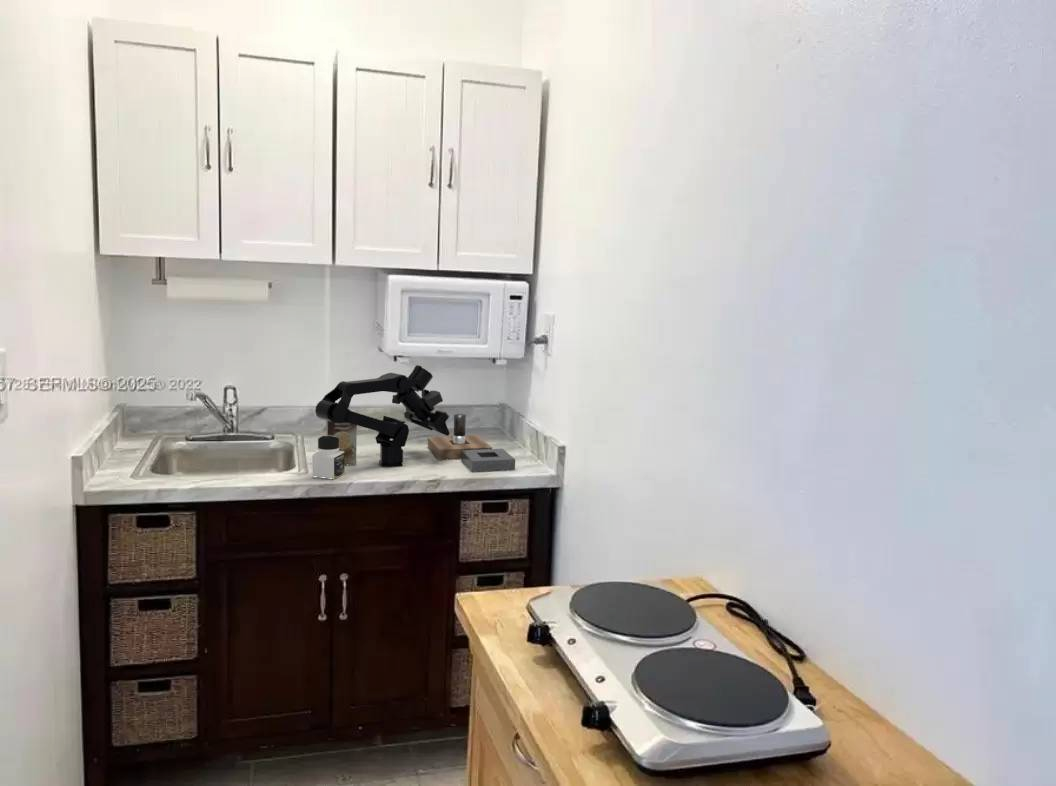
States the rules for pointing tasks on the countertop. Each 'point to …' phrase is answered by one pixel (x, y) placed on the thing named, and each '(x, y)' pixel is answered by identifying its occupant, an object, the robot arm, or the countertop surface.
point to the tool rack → (454, 446)
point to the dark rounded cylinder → (459, 429)
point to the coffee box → (344, 438)
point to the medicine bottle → (328, 458)
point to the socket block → (487, 460)
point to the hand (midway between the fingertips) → (440, 432)
